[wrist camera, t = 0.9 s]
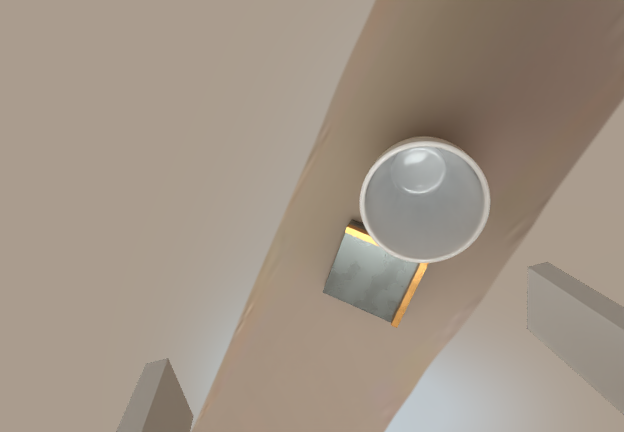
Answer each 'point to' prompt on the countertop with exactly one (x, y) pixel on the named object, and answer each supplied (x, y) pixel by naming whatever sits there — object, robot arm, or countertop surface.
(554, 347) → the robot arm
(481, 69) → the countertop surface
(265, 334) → the countertop surface
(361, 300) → the square coaster
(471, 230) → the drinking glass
